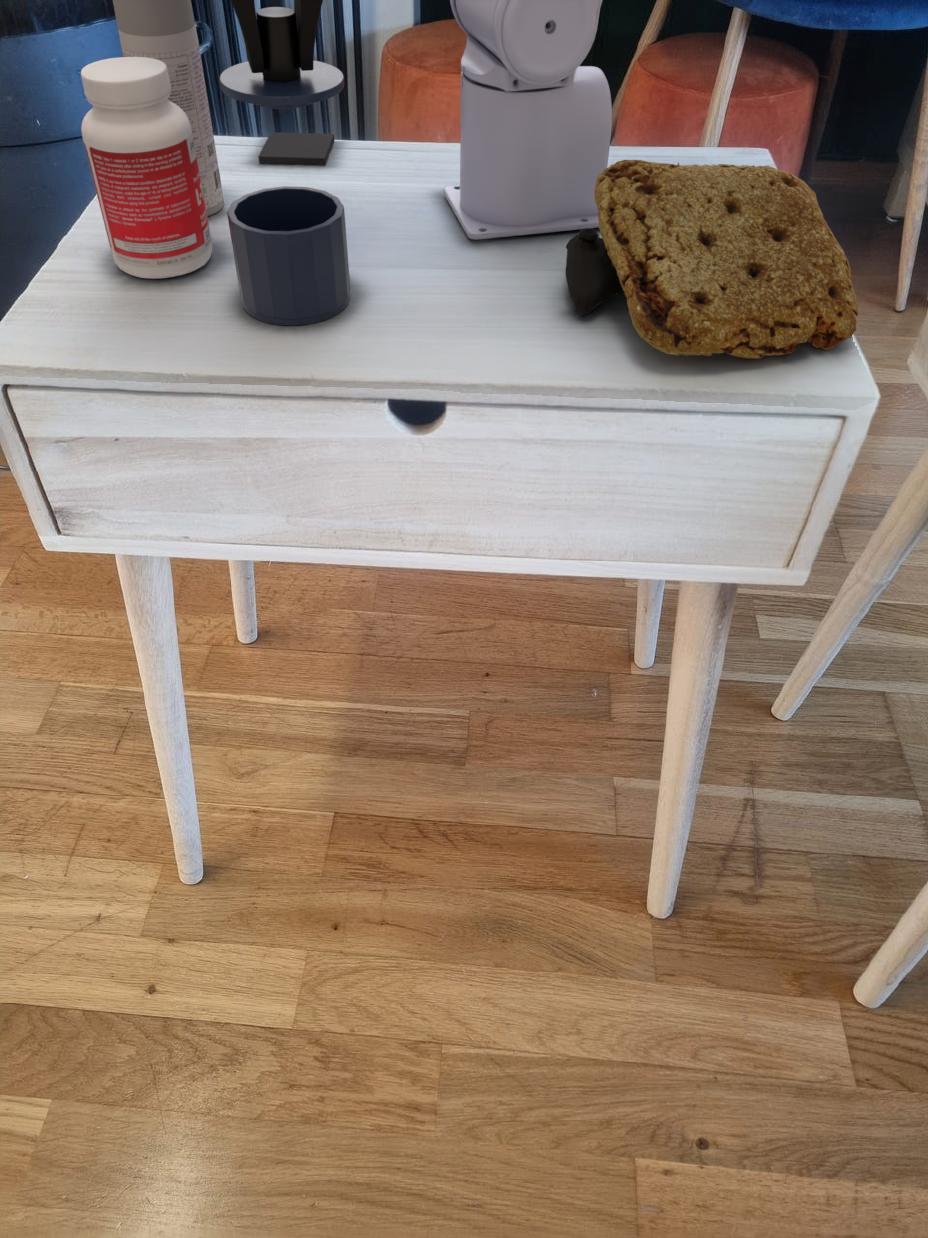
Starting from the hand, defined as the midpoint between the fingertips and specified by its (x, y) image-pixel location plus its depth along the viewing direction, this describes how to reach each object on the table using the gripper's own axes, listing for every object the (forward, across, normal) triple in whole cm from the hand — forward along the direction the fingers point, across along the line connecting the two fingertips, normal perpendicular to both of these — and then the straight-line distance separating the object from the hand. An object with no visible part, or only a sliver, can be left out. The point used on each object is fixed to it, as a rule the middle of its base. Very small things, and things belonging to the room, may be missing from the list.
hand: (281, 66), depth 57 cm
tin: (+10, +1, +8) cm, 13 cm away
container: (+11, +6, -7) cm, 14 cm away
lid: (+1, 0, 0) cm, 1 cm away
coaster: (+10, -2, -16) cm, 19 cm away
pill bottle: (+11, +9, +1) cm, 14 cm away
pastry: (+8, -23, +14) cm, 28 cm away
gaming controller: (+10, -19, +12) cm, 24 cm away
